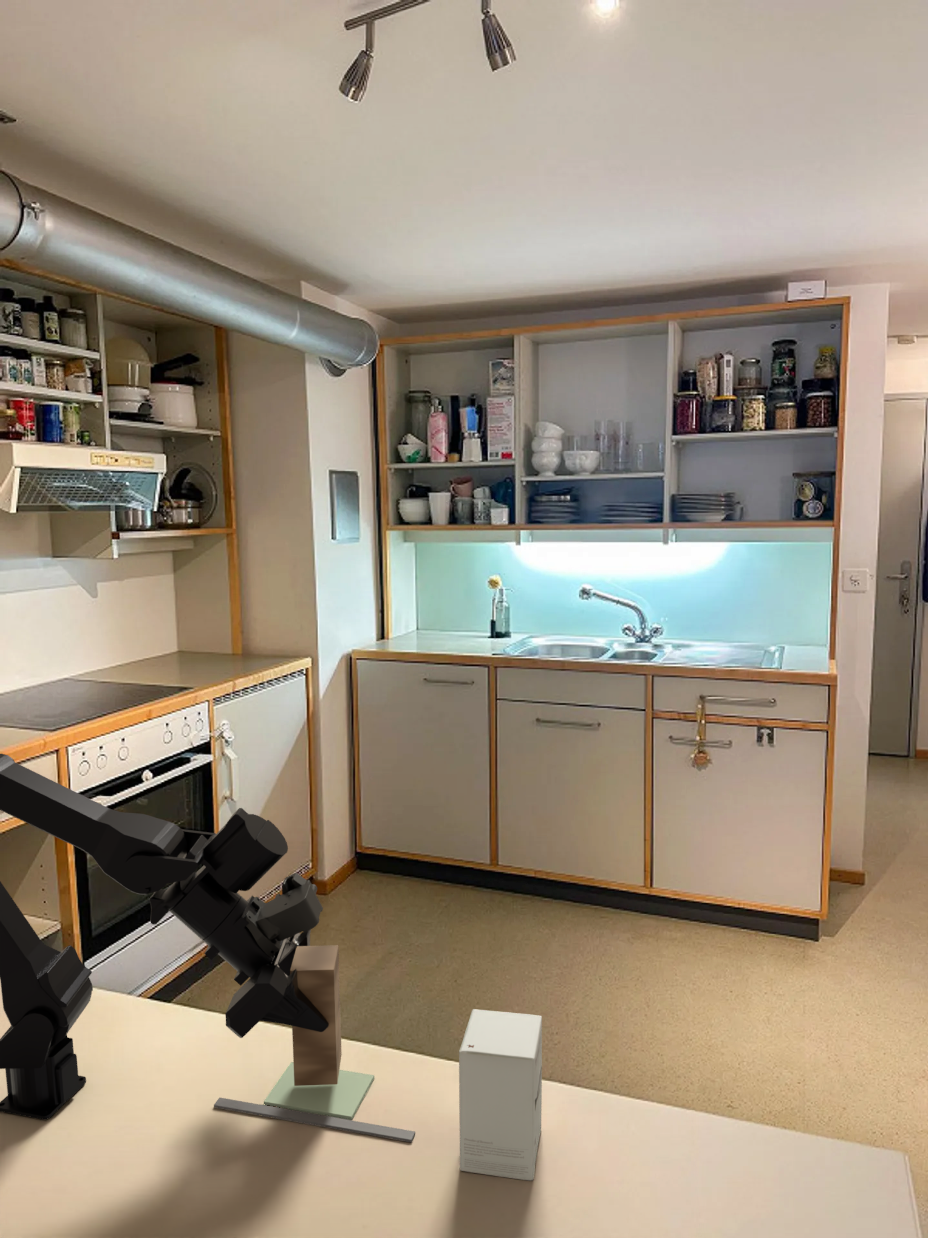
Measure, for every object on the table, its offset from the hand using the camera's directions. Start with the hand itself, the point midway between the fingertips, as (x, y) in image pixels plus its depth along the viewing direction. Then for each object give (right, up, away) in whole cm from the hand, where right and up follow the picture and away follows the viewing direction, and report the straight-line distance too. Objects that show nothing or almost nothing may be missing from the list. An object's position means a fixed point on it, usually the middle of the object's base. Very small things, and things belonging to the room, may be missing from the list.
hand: (329, 1013), depth 95 cm
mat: (-1, -9, +1) cm, 9 cm away
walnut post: (-1, -7, +1) cm, 7 cm away
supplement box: (+18, -10, -8) cm, 22 cm away
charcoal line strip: (-1, -10, -3) cm, 10 cm away
